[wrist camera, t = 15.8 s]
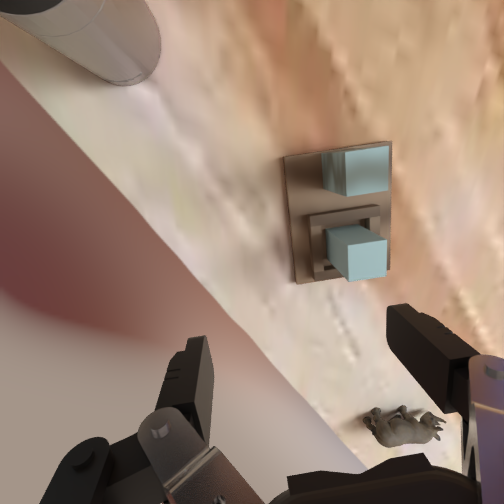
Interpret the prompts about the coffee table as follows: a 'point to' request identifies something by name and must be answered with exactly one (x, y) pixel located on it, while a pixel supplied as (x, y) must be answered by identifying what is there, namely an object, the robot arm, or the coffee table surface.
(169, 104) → the coffee table surface
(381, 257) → the teal block
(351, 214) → the walnut board
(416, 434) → the rhino figurine
